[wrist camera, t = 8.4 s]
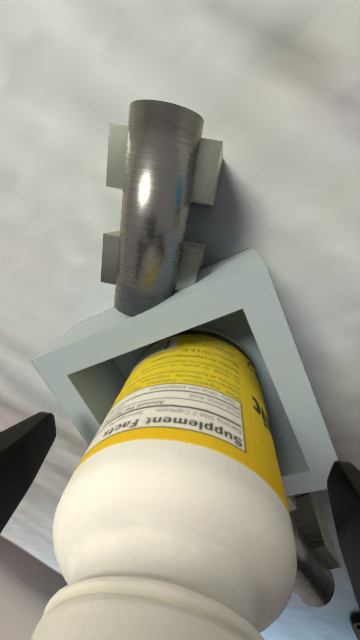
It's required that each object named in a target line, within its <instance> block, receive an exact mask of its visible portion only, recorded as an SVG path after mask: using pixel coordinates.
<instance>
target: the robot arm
mask: <svg viewBox="0 0 360 640" xmlns="http://www.w3.org/2000/svg"><path fill="white" fill-rule="evenodd" d="M55 437H56V426H55V418H54V415H53V414H52V413H48V412H39V413H37V414H35V415H33V416H31V417H29V418H27V419H25V420H23V421H21V422H20V423H18V424H16V425H14V426H12V427H10V428H8V429H6V430H4V431H2V432H0V533H1V532H2V530H3V528H4V527H5V525H6V524H7V522H8V521H9V519H10V517H11V516H12V514H13V513H14V511H15V510H16V508H17V506H18V505H19V503H20V502H21V500H22V499H23V497H24V495H25V494H26V492H27V491H28V489H29V487H30V486H31V484H32V482H33V480H34V479H35V477H36V475H37V473H38V471H39V469H40V467H41V465H42V463H43V461H44V459H45V457H46V455H47V453H48V451H49V449H50V448H51V446H52V444H53V442H54V440H55ZM327 489H328V494H329V499H330V503H331V508H332V513H333V517H334V522H335V527H336V532H337V536H338V540H339V545H340V548H341V552H342V555H343V559H344V562H345V565H346V568H347V571H348V575H349V578H350V581H351V584H352V587H353V590H354V594H355V597H356V600H357V603H358V606H359V610H360V471H359V470H358V469H357V468H356V467H355V466H354V465H353V464H351V463H349V462H345V461H339V460H336V461H334V463H333V465H332V467H331V470H330V473H329V476H328V479H327ZM350 622H351V625H352V628H353V630H354V632H355V635H356V637H357V639H358V640H360V614H353V615H351V616H350Z"/></svg>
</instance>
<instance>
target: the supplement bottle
mask: <svg viewBox="0 0 360 640" xmlns="http://www.w3.org/2000/svg"><path fill="white" fill-rule="evenodd" d="M53 545H54V552H55V556H56V559H57V563H58V566H59V568H60V570H61V573H62V575H63V577H64V578H65V580H66V582H67V584H68V586H66V587H64V588H62V589H60V590H59V591H58V592H57V593H56V594H55V595H54V596H53V597H52V598H51V599H50V601H49V602H48V604H47V606H46V608H45V611H44V614H43V617H42V618H41V620H40V622H39V623H38V625H37V627H36V629H35V631H34V633H33V635H32V638H31V640H264V639H263V638H262V636H261V635H260V634H259V633H260V632H262V631H264V630H265V629H266V628H267V627H269V626H270V625H271V624H272V623H273V622H274V621H275V620H276V619H277V618H278V617H279V616H280V614H281V613H282V612H283V610H284V608H285V607H286V605H287V603H288V601H289V599H290V596H291V594H292V591H293V588H294V584H295V578H296V571H297V555H296V545H295V540H294V534H293V529H292V523H291V518H290V513H289V509H288V504H287V500H286V496H285V491H284V487H283V482H282V478H281V474H280V470H279V465H278V461H277V457H276V452H275V448H274V443H273V438H272V433H271V429H270V425H269V421H268V416H267V411H266V407H265V402H264V398H263V393H262V389H261V384H260V380H259V376H258V373H257V369H256V366H255V364H254V362H253V360H252V358H251V357H250V355H249V354H248V352H247V351H246V350H245V349H244V348H243V347H242V346H241V345H240V344H239V343H238V342H237V341H235V340H234V339H233V338H231V337H229V336H228V335H226V334H223V333H221V332H219V331H216V330H213V329H209V328H203V327H193V328H190V329H188V330H185V331H182V332H180V333H177V334H174V335H172V336H169V337H167V338H164V339H161V340H159V341H156V342H153V343H151V344H150V345H149V346H148V347H147V348H146V350H145V351H144V352H143V354H142V355H141V357H140V359H139V360H138V362H137V364H136V365H135V367H134V369H133V371H132V372H131V374H130V376H129V378H128V380H127V381H126V383H125V385H124V387H123V388H122V390H121V392H120V394H119V395H118V397H117V398H116V401H115V402H114V404H113V406H112V408H111V409H110V411H109V413H108V414H107V416H106V418H105V420H104V422H103V423H102V425H101V427H100V429H99V430H98V432H97V434H96V436H95V437H94V439H93V440H92V442H91V444H90V446H89V448H88V449H87V451H86V453H85V454H84V456H83V458H82V460H81V461H80V463H79V465H78V466H77V468H76V470H75V471H74V473H73V475H72V477H71V479H70V481H69V483H68V485H67V487H66V488H65V490H64V492H63V494H62V497H61V499H60V501H59V504H58V506H57V509H56V512H55V518H54V523H53Z"/></svg>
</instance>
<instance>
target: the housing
mask: <svg viewBox="0 0 360 640" xmlns="http://www.w3.org/2000/svg"><path fill="white" fill-rule="evenodd" d="M193 327H203V328H209V329H213V330H216V331H219V332H221V333H223V334H226V335H228V336H229V337H231V338H233V339H234V340H235V341H237V342H238V343H239V344H240V345H241V346H242V347H243V348H244V349H245V350H246V351H247V352H248V354H249V355H250V357H251V358H252V360H253V362H254V364H255V366H256V369H257V373H258V376H259V380H260V384H261V389H262V393H263V398H264V402H265V407H266V411H267V416H268V421H269V425H270V429H271V433H272V438H273V443H274V448H275V452H276V457H277V461H278V465H279V470H280V474H281V478H282V482H283V487H284V491H285V496H291V495H297V494H303V493H309V492H314V491H320V490H326V489H327V479H328V476H329V473H330V470H331V467H332V465H333V463H334V461H336V460H338V458H337V455H336V452H335V450H334V447H333V444H332V442H331V439H330V436H329V434H328V431H327V428H326V426H325V423H324V420H323V417H322V415H321V412H320V409H319V407H318V404H317V401H316V399H315V396H314V393H313V391H312V388H311V385H310V382H309V380H308V377H307V374H306V372H305V369H304V366H303V364H302V361H301V358H300V356H299V353H298V350H297V347H296V345H295V342H294V339H293V337H292V334H291V331H290V329H289V326H288V323H287V321H286V318H285V315H284V313H283V310H282V307H281V304H280V302H279V299H278V296H277V294H276V291H275V288H274V286H273V283H272V280H271V278H270V275H269V272H268V269H267V267H266V264H265V262H264V261H263V259H262V258H261V257H260V256H259V255H258V253H257V252H256V251H255V250H254V249H253V247H251V248H249V249H247V250H244V251H242V252H240V253H237V254H235V255H233V256H231V257H228V258H226V259H224V260H222V261H219V262H217V263H215V264H213V265H210V266H208V267H206V268H203V269H201V271H200V273H199V276H198V278H197V281H196V283H195V284H194V285H192V286H189V287H187V288H185V289H182V290H180V291H178V292H175V293H174V294H173V295H172V296H171V297H170V298H168V299H167V300H165V301H164V302H162V303H160V304H158V305H157V306H155V307H153V308H151V309H149V310H147V311H145V312H143V313H141V314H138V315H136V316H134V317H131V316H128V315H125V314H123V313H121V312H119V311H118V310H117V309H116V308H113V309H111V310H108V311H106V312H104V313H101V314H99V315H97V316H95V317H92V318H90V319H88V320H86V321H83V322H81V323H79V324H78V325H76V326H75V327H74V328H72V329H71V330H70V331H68V332H67V333H66V334H65V335H63V336H62V337H61V338H59V339H58V340H57V341H55V342H54V343H53V344H51V345H50V346H49V347H47V348H46V349H45V350H43V351H42V352H41V353H39V354H38V355H37V356H36V357H34V358H33V359H32V360H30V362H31V363H32V365H33V366H34V367H35V369H36V370H37V372H38V373H39V375H40V376H41V378H42V379H43V380H44V382H45V383H46V385H47V386H48V388H49V389H50V391H51V392H52V393H53V395H54V396H55V398H56V399H57V401H58V402H59V404H60V405H61V406H62V408H63V409H64V411H65V412H66V414H67V415H68V417H69V418H70V419H71V421H72V422H73V424H74V425H75V427H76V428H77V430H78V431H79V432H80V434H81V435H82V437H83V438H84V440H85V441H86V443H87V444H88V445H89V446H90V444H91V442H92V440H93V439H94V437H95V436H96V434H97V432H98V430H99V429H100V427H101V425H102V423H103V422H104V420H105V418H106V416H107V414H108V413H109V411H110V409H111V408H112V406H113V404H114V402H115V401H116V398H117V397H118V395H119V394H120V392H121V390H122V388H123V387H124V385H125V383H126V381H127V380H128V378H129V376H130V374H131V372H132V371H133V369H134V367H135V365H136V364H137V362H138V360H139V359H140V357H141V355H142V354H143V352H144V351H145V350H146V348H147V347H148V346H149V345H150V344H151V343H153V342H156V341H159V340H161V339H164V338H167V337H169V336H172V335H174V334H177V333H180V332H182V331H185V330H188V329H190V328H193Z"/></svg>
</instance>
